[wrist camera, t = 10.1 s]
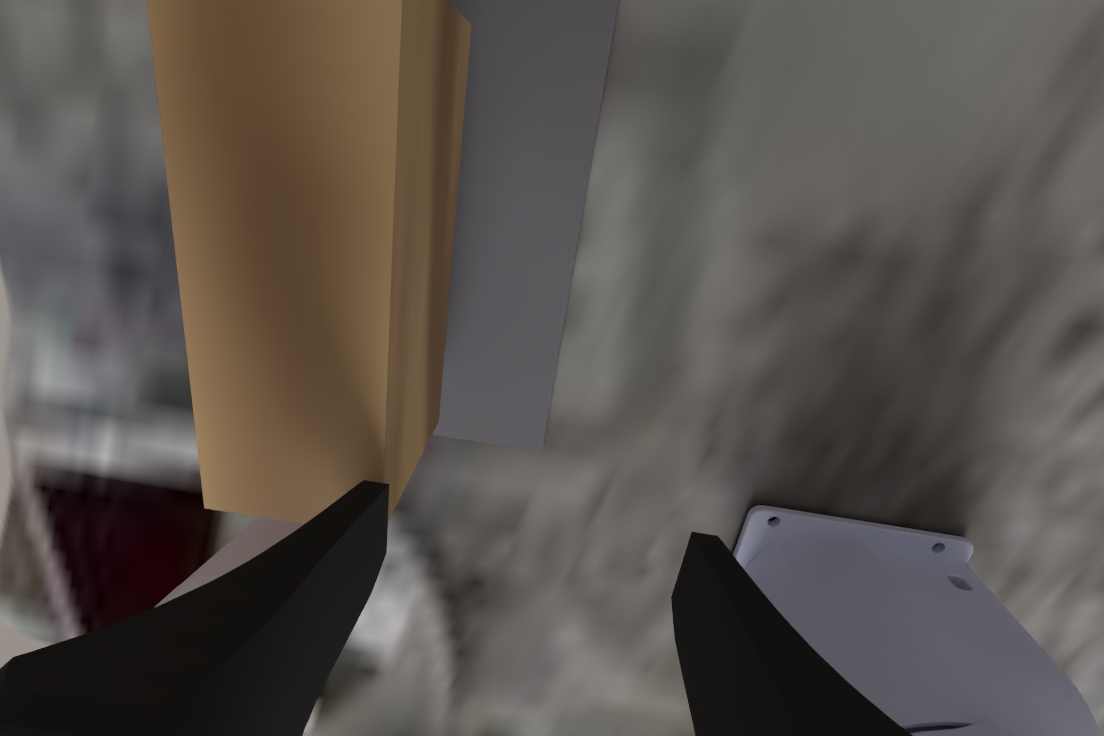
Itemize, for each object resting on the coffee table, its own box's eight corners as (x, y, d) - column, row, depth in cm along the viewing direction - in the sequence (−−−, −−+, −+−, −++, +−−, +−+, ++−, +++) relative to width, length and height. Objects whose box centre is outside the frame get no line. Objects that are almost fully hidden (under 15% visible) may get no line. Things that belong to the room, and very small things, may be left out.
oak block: (471, 25, 15) (403, -45, 9) (438, 421, 19) (380, 535, 14) (306, -3, 15) (135, -90, 9) (313, 401, 19) (204, 508, 14)
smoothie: (257, 434, 23) (-144, 800, 10) (406, 465, 24) (194, 861, 11) (256, 551, 26) (-68, 963, 13) (392, 578, 26) (205, 1010, 13)
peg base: (619, -8, 17) (627, -37, 14) (543, 446, 23) (537, 488, 20) (224, -75, 17) (152, -118, 14) (254, 400, 23) (209, 436, 20)
